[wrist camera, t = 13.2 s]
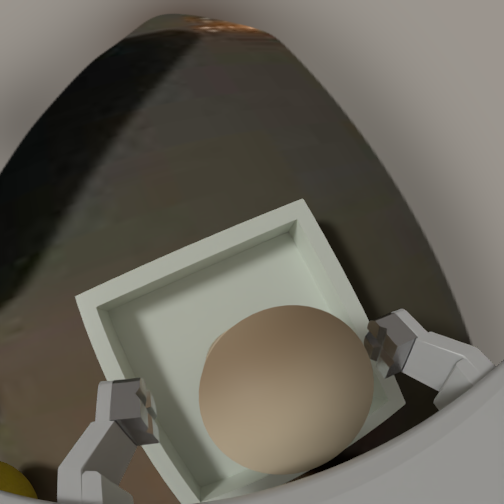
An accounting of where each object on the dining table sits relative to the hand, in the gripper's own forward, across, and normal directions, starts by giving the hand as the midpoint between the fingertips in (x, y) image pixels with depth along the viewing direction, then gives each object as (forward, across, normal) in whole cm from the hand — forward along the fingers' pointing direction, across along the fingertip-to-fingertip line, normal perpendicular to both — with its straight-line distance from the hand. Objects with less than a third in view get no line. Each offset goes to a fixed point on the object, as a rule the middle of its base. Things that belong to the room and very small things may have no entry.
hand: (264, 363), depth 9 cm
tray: (+5, 0, +6) cm, 8 cm away
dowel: (+4, 0, +5) cm, 7 cm away
